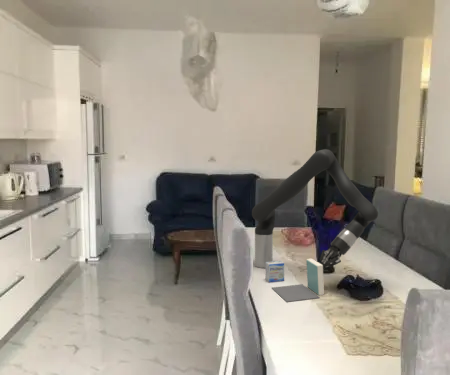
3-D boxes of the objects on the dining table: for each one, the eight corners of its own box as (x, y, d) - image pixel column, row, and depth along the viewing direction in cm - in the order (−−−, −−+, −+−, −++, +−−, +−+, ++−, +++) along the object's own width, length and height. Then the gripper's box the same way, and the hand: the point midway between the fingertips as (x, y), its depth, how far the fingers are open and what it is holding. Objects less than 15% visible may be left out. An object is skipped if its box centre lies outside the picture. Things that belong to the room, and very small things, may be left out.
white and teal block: (307, 287, 185) (306, 259, 183) (312, 286, 186) (311, 258, 184) (318, 295, 176) (317, 266, 174) (323, 294, 176) (322, 265, 174)
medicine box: (268, 282, 191) (268, 264, 190) (265, 279, 195) (265, 261, 194) (284, 281, 193) (284, 263, 192) (280, 277, 197) (280, 260, 196)
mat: (271, 288, 184) (271, 287, 184) (302, 285, 188) (302, 284, 188) (286, 302, 168) (286, 301, 168) (319, 298, 172) (319, 297, 172)
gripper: (330, 232, 187) (305, 261, 185) (347, 239, 175) (320, 270, 173) (340, 243, 189) (316, 271, 187) (357, 251, 177) (331, 281, 175)
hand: (318, 271), depth 180 cm, fingers closed
